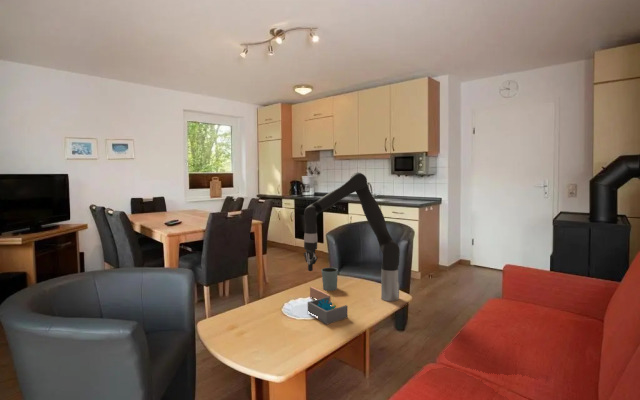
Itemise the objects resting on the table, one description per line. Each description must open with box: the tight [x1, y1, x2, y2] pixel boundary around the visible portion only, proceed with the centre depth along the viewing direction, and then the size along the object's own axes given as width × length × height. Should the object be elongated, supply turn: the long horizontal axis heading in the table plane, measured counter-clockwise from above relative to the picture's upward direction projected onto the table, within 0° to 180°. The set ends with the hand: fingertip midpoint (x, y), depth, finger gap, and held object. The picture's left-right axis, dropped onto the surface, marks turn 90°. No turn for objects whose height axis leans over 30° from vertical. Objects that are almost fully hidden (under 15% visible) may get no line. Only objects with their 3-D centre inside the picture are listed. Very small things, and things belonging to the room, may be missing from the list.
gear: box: [317, 299, 337, 311], centre depth 176 cm, size 11×6×10 cm
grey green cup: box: [321, 267, 339, 292], centre depth 215 cm, size 10×10×12 cm
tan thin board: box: [309, 286, 332, 303], centre depth 193 cm, size 1×18×6 cm, turn 35°
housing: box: [307, 297, 348, 325], centre depth 174 cm, size 13×16×6 cm
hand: (310, 270), depth 198 cm, fingers closed
